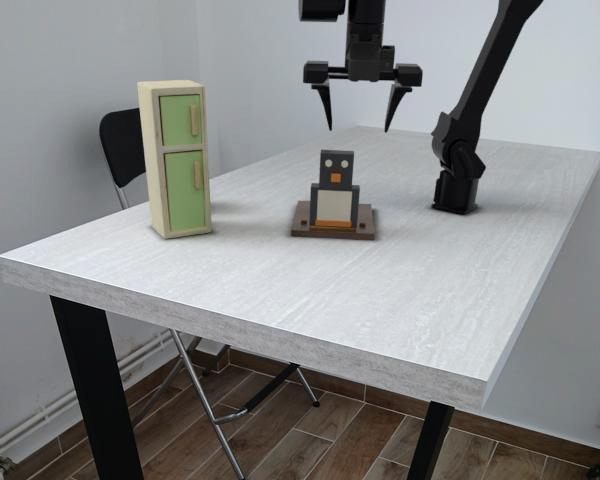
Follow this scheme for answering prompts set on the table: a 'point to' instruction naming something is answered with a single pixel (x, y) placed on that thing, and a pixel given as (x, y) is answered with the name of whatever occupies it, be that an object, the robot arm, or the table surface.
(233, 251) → the table surface
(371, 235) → the stand
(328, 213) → the penguin
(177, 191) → the toy refrigerator
